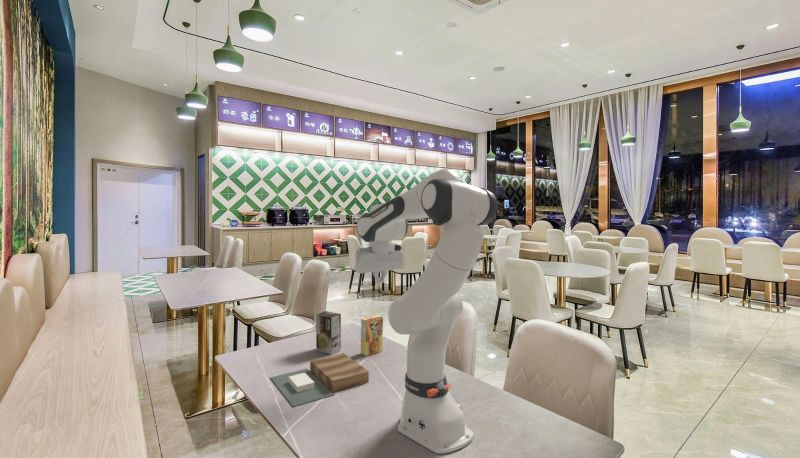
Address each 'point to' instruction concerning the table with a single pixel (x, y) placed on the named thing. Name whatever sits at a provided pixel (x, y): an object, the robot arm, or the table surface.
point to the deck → (339, 372)
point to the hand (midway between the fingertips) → (379, 282)
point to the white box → (301, 382)
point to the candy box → (371, 335)
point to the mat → (303, 396)
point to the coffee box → (328, 332)
